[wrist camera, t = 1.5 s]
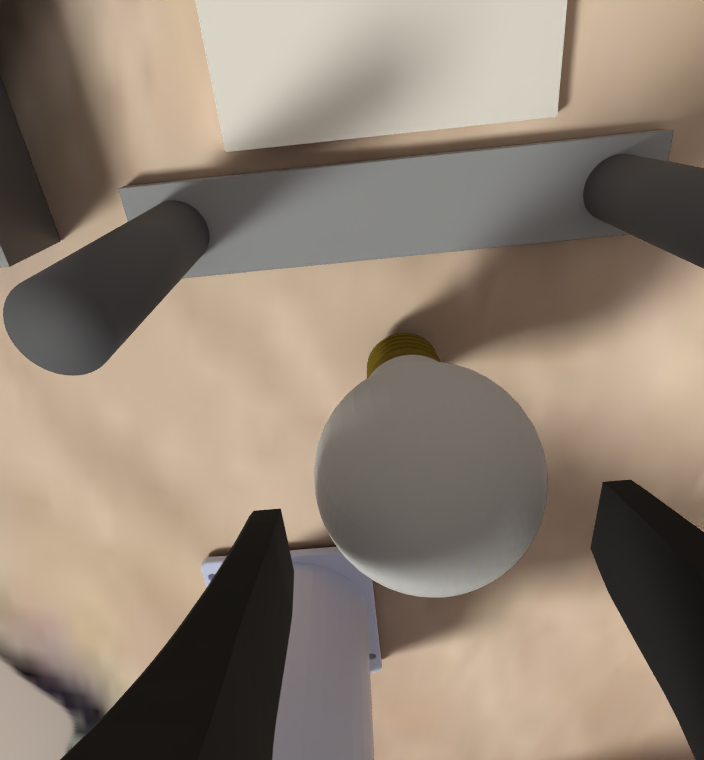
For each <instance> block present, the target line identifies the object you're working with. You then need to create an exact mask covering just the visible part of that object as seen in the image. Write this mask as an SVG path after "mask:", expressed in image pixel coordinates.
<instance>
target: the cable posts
mask: <svg viewBox="0 0 704 760" xmlns="http://www.w3.org/2000/svg"><path fill="white" fill-rule="evenodd" d="M673 131H674V130H663V129H662V130H653V131H643V132H634V133H624V134H615V135H605V136H596V137H586V138H577V139H567V140H558V141H548V142H539V143H529V144H520V145H510V146H501V147H491V148H482V149H472V150H463V151H453V152H444V153H434V154H425V155H415V156H406V157H396V158H387V159H377V160H368V161H358V162H349V163H339V164H330V165H320V166H311V167H301V168H292V169H282V170H273V171H263V172H254V173H244V174H235V175H225V176H216V177H206V178H197V179H187V180H178V181H168V182H159V183H149V184H140V185H130V186H124V187H122V188H119V189H118V190H119V193H120V197H121V200H122V203H123V207H124V210H125V213H126V217H127V220H128V222H127V223H125V224H123V225H122V226H120V227H118V228H116V229H115V230H113V231H111V232H109V233H108V234H106V235H104V236H102V237H101V238H99V239H97V240H95V241H93V242H92V243H90V244H88V245H86V246H85V247H83V248H81V249H79V250H78V251H76V252H74V253H72V254H71V255H69V256H67V257H65V258H64V259H62V260H60V261H58V262H57V263H55V264H53V265H51V266H50V267H48V268H46V269H44V270H42V271H41V272H39V273H37V274H35V275H34V276H32V277H30V278H28V279H27V280H25V281H23V282H21V283H20V284H18V285H17V286H16V287H14V288H13V290H12V291H11V292H10V293H9V295H8V296H7V298H6V301H5V304H4V309H3V317H4V324H5V328H6V330H7V333H8V335H9V337H10V339H11V340H12V342H13V343H14V345H15V346H16V347H17V349H18V350H19V351H20V352H21V353H22V354H23V355H24V356H25V357H26V358H28V359H29V360H30V361H32V362H33V363H35V364H36V365H38V366H40V367H42V368H44V369H46V370H48V371H51V372H54V373H58V374H63V375H83V374H87V373H91V372H93V371H95V370H97V369H98V368H100V367H101V366H102V365H104V364H105V363H106V362H107V360H108V359H109V358H110V357H111V356H112V355H113V354H114V353H115V352H116V350H117V349H118V348H119V347H120V346H121V345H122V344H123V343H124V342H125V341H126V339H127V338H128V337H129V336H130V335H131V334H132V333H133V332H134V331H135V329H136V328H137V327H138V326H139V325H140V324H141V323H142V322H143V321H144V319H145V318H146V317H147V316H148V315H149V314H150V313H151V312H152V311H153V309H154V308H155V307H156V306H157V305H158V304H159V303H160V302H161V301H162V300H163V298H164V297H165V296H166V295H167V294H168V293H169V292H170V291H171V290H172V288H173V287H174V286H175V285H176V284H177V283H178V282H179V281H180V280H181V278H191V277H201V276H211V275H221V274H231V273H241V272H252V271H262V270H272V269H282V268H292V267H302V266H312V265H322V264H332V263H342V262H353V261H363V260H373V259H383V258H393V257H403V256H413V255H423V254H433V253H444V252H454V251H464V250H474V249H484V248H494V247H504V246H514V245H524V244H535V243H545V242H555V241H565V240H575V239H585V238H595V237H605V236H615V235H625V234H631V235H633V236H635V237H637V238H640V239H642V240H644V241H646V242H648V243H650V244H652V245H655V246H657V247H659V248H661V249H663V250H665V251H667V252H670V253H672V254H674V255H676V256H678V257H680V258H682V259H685V260H687V261H689V262H691V263H693V264H695V265H697V266H699V267H702V268H704V168H699V167H694V166H689V165H683V164H678V163H673V162H668V158H669V153H670V147H671V142H672V137H673Z"/></svg>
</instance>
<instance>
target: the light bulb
mask: <svg viewBox="0 0 704 760" xmlns="http://www.w3.org/2000/svg"><path fill="white" fill-rule="evenodd" d="M547 482H548V475H547V467H546V461H545V456H544V451H543V448H542V445H541V442H540V440H539V437H538V435H537V433H536V430H535V428H534V426H533V424H532V423H531V421H530V420H529V418H528V417H527V415H526V414H525V412H524V411H523V409H522V408H521V406H520V405H519V404H518V403H517V402H516V401H515V400H514V399H513V398H512V397H511V396H510V395H509V394H508V393H507V392H506V391H505V390H504V389H503V388H502V387H500V386H499V385H497V384H496V383H494V382H493V381H492V380H490V379H489V378H487V377H485V376H483V375H481V374H479V373H477V372H475V371H473V370H470V369H468V368H465V367H461V366H458V365H454V364H450V363H442V362H441V361H440V359H439V357H438V355H437V353H436V351H435V349H434V348H433V347H432V345H431V344H430V343H429V342H428V341H426V340H425V339H423V338H421V337H419V336H417V335H413V334H396V335H392V336H390V337H387V338H385V339H384V340H382V341H381V342H380V343H378V344H377V345H376V346H375V348H374V349H373V350H372V352H371V354H370V356H369V358H368V363H367V379H366V380H364V381H363V382H361V383H360V384H358V385H357V386H356V387H355V388H354V389H353V390H352V391H350V392H349V393H348V394H347V395H346V396H345V397H344V399H343V400H342V401H341V402H340V403H339V405H338V406H337V407H336V408H335V410H334V411H333V413H332V415H331V416H330V418H329V420H328V422H327V423H326V425H325V427H324V430H323V432H322V435H321V438H320V441H319V444H318V447H317V453H316V459H315V466H314V484H315V495H316V499H317V504H318V508H319V511H320V515H321V518H322V520H323V522H324V525H325V527H326V529H327V531H328V533H329V535H330V537H331V539H332V540H333V542H334V543H335V545H336V546H337V547H338V549H339V550H340V551H341V553H342V554H343V555H344V556H345V558H346V559H347V560H349V561H350V562H351V563H352V564H353V565H354V566H355V567H356V568H357V569H358V570H359V571H360V572H362V573H363V574H365V575H366V576H367V577H369V578H370V579H372V580H373V581H375V582H377V583H379V584H381V585H383V586H385V587H387V588H389V589H392V590H395V591H398V592H401V593H404V594H408V595H413V596H419V597H430V598H433V597H450V596H456V595H460V594H465V593H468V592H471V591H474V590H477V589H479V588H481V587H483V586H485V585H487V584H489V583H491V582H493V581H494V580H496V579H497V578H499V577H500V576H502V575H503V574H504V573H505V572H507V571H508V570H509V569H510V568H511V567H512V566H513V565H514V564H515V563H516V562H517V561H518V560H519V559H520V558H521V557H522V556H523V554H524V553H525V551H526V550H527V548H528V547H529V545H530V544H531V542H532V541H533V539H534V537H535V535H536V533H537V530H538V528H539V526H540V524H541V521H542V517H543V514H544V509H545V505H546V500H547Z"/></svg>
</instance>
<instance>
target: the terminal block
mask: <svg viewBox="0 0 704 760" xmlns="http://www.w3.org/2000/svg"><path fill="white" fill-rule="evenodd" d="M58 242H60V238H59V236H58V233H57V230H56V228H55V225H54V222H53V219H52V217H51V214H50V211H49V209H48V206H47V203H46V200H45V198H44V195H43V192H42V190H41V187H40V184H39V182H38V179H37V176H36V173H35V171H34V168H33V165H32V163H31V160H30V157H29V154H28V152H27V149H26V146H25V144H24V141H23V138H22V135H21V133H20V130H19V127H18V125H17V122H16V119H15V116H14V114H13V111H12V108H11V106H10V103H9V100H8V97H7V95H6V92H5V89H4V87H3V84H2V81H1V79H0V268H2V267H10V266H12V265H14V264H16V263H18V262H20V261H22V260H24V259H26V258H28V257H30V256H32V255H34V254H36V253H38V252H40V251H42V250H44V249H46V248H48V247H50V246H52V245H54V244H56V243H58Z"/></svg>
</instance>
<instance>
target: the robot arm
mask: <svg viewBox="0 0 704 760" xmlns="http://www.w3.org/2000/svg"><path fill="white" fill-rule="evenodd" d="M591 550H592V553H593V555H594V558H595V561H596V563H597V566H598V568H599V571H600V573H601V576H602V578H603V580H604V583H605V585H606V588H607V590H608V592H609V594H610V596H611V598H612V600H613V602H614V604H615V605H616V607H617V609H618V611H619V613H620V614H621V616H622V618H623V620H624V622H625V624H626V625H627V627H628V629H629V631H630V633H631V634H632V636H633V638H634V640H635V642H636V643H637V645H638V647H639V649H640V651H641V652H642V654H643V656H644V658H645V660H646V661H647V663H648V665H649V667H650V668H651V670H652V672H653V674H654V676H655V677H656V679H657V681H658V683H659V685H660V686H661V688H662V690H663V692H664V694H665V695H666V697H667V699H668V701H669V703H670V705H671V707H672V709H673V711H674V713H675V715H676V717H677V719H678V721H679V723H680V726H681V728H682V730H683V732H684V735H685V737H686V739H687V741H688V744H689V746H690V748H691V750H692V753H693V755H694V757H695V759H696V760H704V532H703V531H701V530H700V529H699V528H697V527H696V526H694V525H693V524H692V523H690V522H689V521H687V520H686V519H685V518H683V517H682V516H681V515H679V514H678V513H676V512H675V511H674V510H672V509H671V508H670V507H668V506H667V505H666V504H664V503H663V502H661V501H660V500H659V499H657V498H656V497H655V496H653V495H652V494H650V493H649V492H648V491H646V490H645V489H644V488H642V487H641V486H639V485H638V484H636V483H635V482H634V481H632V480H621V481H609V482H603V484H602V489H601V495H600V500H599V506H598V511H597V517H596V522H595V527H594V533H593V538H592V544H591ZM201 572H202V575H203V578H204V581H205V584H206V586H207V588H206V590H205V591H204V593H203V594H202V595H201V597H200V598H199V600H198V601H197V603H196V604H195V605H194V607H193V608H192V610H191V611H190V612H189V614H188V615H187V617H186V618H185V619H184V621H183V622H182V624H181V625H180V626H179V628H178V629H177V631H176V632H175V633H174V634H173V636H172V637H171V638H170V640H169V641H168V642H167V644H166V645H165V646H164V647H163V649H162V650H161V651H160V652H159V654H158V655H157V656H156V657H155V659H154V660H153V661H152V662H151V663H150V665H149V666H148V667H147V668H146V669H145V671H144V672H143V673H142V674H141V675H140V677H139V678H138V679H137V680H136V681H135V682H134V683H133V684H132V686H131V687H130V688H129V689H128V690H127V691H126V692H125V693H124V695H123V696H122V697H121V698H120V699H119V700H118V701H117V702H116V704H115V705H114V706H113V707H112V708H111V709H110V710H109V711H108V712H107V713H106V714H105V715H104V716H103V718H102V719H101V720H100V721H99V722H98V723H97V724H96V725H95V726H94V727H93V728H92V729H91V730H90V731H89V732H88V733H87V734H86V735H85V736H84V737H83V738H82V739H81V740H80V741H79V742H78V743H77V744H76V745H75V746H74V747H73V748H72V749H71V750H70V751H69V752H68V753H67V754H66V755H65V756H64V757H63V758H61V759H60V760H374V743H373V722H372V701H371V680H370V673H374V672H377V671H379V670H380V669H381V667H382V662H381V653H380V644H379V635H378V626H377V617H376V608H375V599H374V590H373V581H372V579H370V578H369V577H367V576H366V575H365V574H363V573H362V572H360V571H359V570H358V569H357V568H356V567H355V566H354V565H353V564H352V563H351V562H350V561H349V560H347V559H346V558H345V556H344V555H343V554H342V553H341V551H340V550H339V549H338V547H326V548H314V549H301V550H289V545H288V540H287V536H286V531H285V527H284V522H283V518H282V513H281V509H271V510H259V511H254V512H253V513H252V514H251V515H250V516H249V518H248V520H247V522H246V524H245V525H244V527H243V529H242V531H241V533H240V534H239V536H238V538H237V540H236V541H235V543H234V545H233V546H232V548H231V550H230V551H229V553H228V555H227V556H215V557H208V558H206V559H204V560H203V562H202V565H201Z"/></svg>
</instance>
